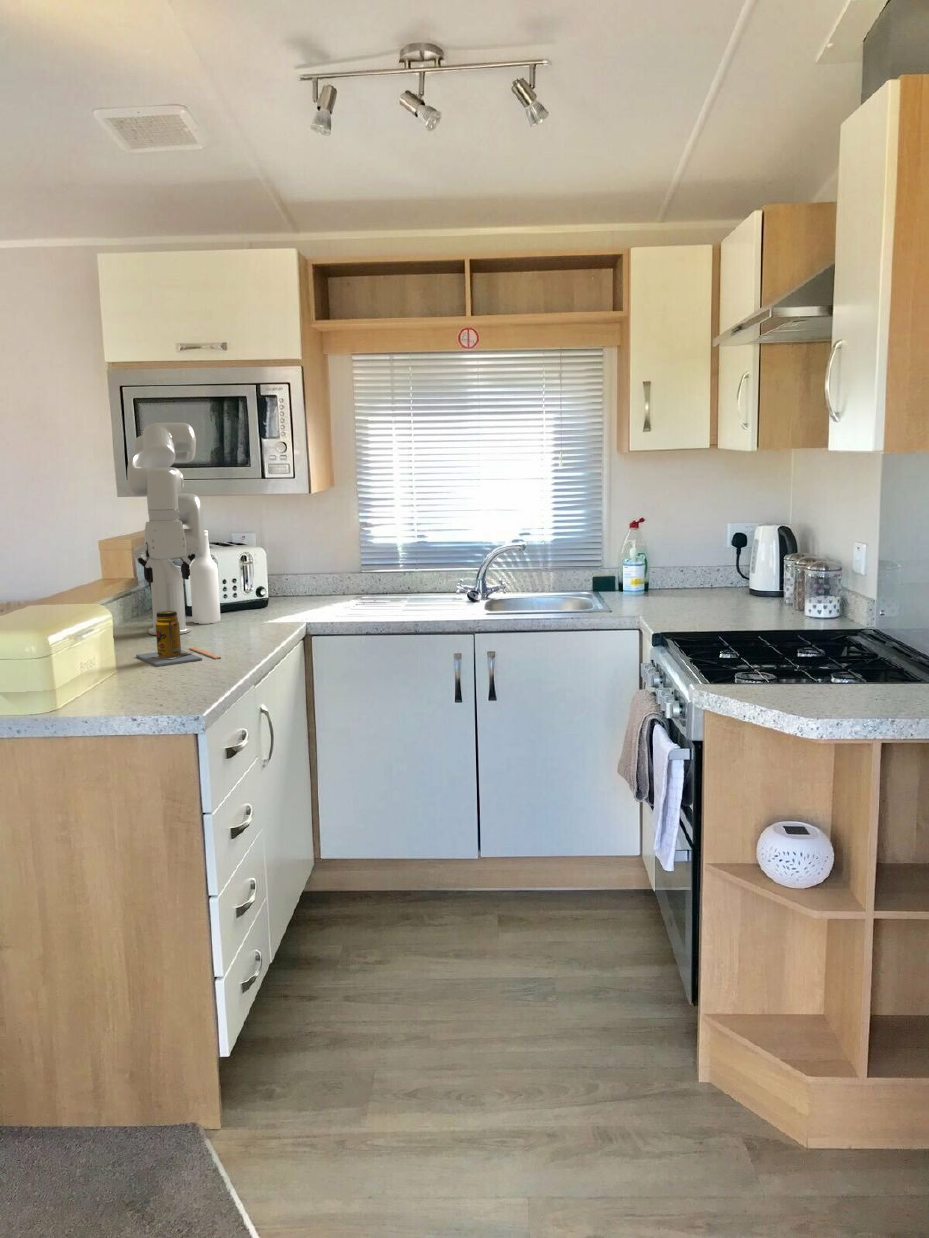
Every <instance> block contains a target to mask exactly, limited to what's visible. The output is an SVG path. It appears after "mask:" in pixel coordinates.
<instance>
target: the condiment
mask: <svg viewBox="0 0 929 1238" xmlns="http://www.w3.org/2000/svg"><path fill="white" fill-rule="evenodd" d="M177 619H178V617H177V612H176V611H162V612H158V613H157V622H156V635H155V636H156V645H157V646H156V649H157V651H156V652H158V655H157V656H154V657H156V658H164V659H173V658H177V657H181V656H184V655H188V654H192V652H188V653H185V652H186V651H185V652H181V650H182V645H181V634H180V627H179V622H178V620H177Z"/></svg>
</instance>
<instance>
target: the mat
mask: <svg viewBox="0 0 929 1238" xmlns="http://www.w3.org/2000/svg"><path fill="white" fill-rule="evenodd" d="M181 652H185V653H189V652H188V651H186V650H183V649H181ZM135 655H136V656H135V657H136V658H138V659H139V660H142V661H144V662H147V663H149V664H151V665H153V666H156V667H164V666H171V665H178V664H185V663H193V662H200V660H201V661H202V660H203V658H202V657H201V656H197V655H196V654H193V653H191V654H188V655H184V656H181V657H177V658H173V659H164V658H156V657H154V656H157V655H158V651H154V652H146V653H138V654H135Z"/></svg>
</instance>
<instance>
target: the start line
mask: <svg viewBox="0 0 929 1238" xmlns="http://www.w3.org/2000/svg"><path fill="white" fill-rule="evenodd" d="M189 650H191V651H193V652H195V653H198V654H201V655H204V656H207V657H208V658H210V659H213V660H218V659H221V656H219V655H216V654H214V653H210V652H209V651H205V650H203V649H202V648H198V647H195V646H193V647H192V646H191V647H189Z"/></svg>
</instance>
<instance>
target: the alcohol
mask: <svg viewBox="0 0 929 1238" xmlns="http://www.w3.org/2000/svg"><path fill="white" fill-rule="evenodd" d="M204 535H205V554H204V556H203V557H202V558H200V559H195V560H193V561H192V562H191V564H190V576H189V579H190V597H191V611H192V612H191V613H192V621H193V623H194V624H195V623H199V624H198V625H211V624H210V623H214V624H218V623H219V622H220V620H221V619H222V618H221V604H220V603H221V602H220V599H221V598H220V587H219V586H220V584H219V568H218V565H217V563H216V562H215V561H214V559H212V556H211V550H210V542H209V531H208V530H206V529H204Z"/></svg>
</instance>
